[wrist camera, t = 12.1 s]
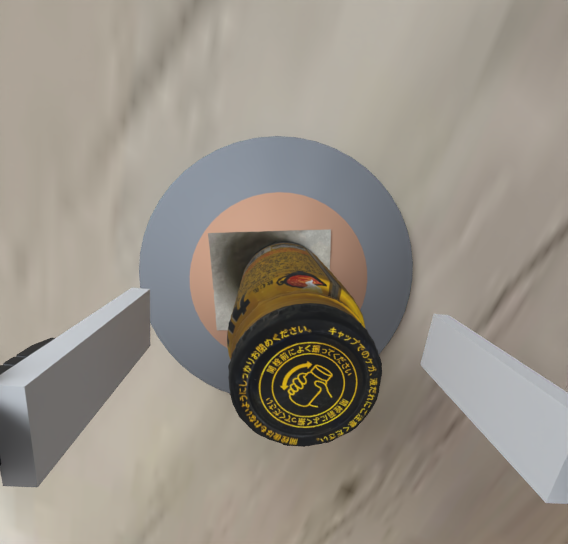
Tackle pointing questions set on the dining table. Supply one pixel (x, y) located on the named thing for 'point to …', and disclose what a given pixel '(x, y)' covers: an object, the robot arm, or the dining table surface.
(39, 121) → the dining table surface
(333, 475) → the dining table surface
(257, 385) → the condiment
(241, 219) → the ring stand
